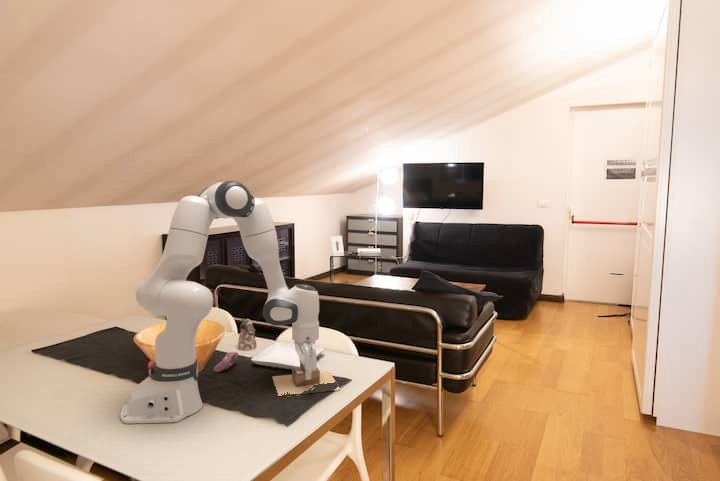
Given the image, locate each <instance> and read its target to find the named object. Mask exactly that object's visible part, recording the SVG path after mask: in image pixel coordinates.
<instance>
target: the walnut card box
mask: <svg viewBox="0 0 720 481" xmlns="http://www.w3.org/2000/svg"><path fill="white" fill-rule="evenodd" d="M291 371H292V374H291V375H292V382H293V383H294V385H295V386H296V387H301V386H308V385H315V384H320V372H321V371H320V369H319V368H318V366H317V367H316V370H312V374H311V379H310V380H306V378H305V371H306V370H305V368H304V367H301V368H300V367H297V368H293V369H292V370H291Z"/></svg>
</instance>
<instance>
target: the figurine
mask: <svg viewBox="0 0 720 481" xmlns="http://www.w3.org/2000/svg"><path fill="white" fill-rule="evenodd" d="M240 321H241V324H240V325H239V327H240V332H239V336H238V343H237V349H238V350H240V351H243V352H248V351H254V350H256V348H257V341H256V333H255V332H256V329H255V328H254V324H253V321H252V320H251V319H249V318H246V319H244V317H243V318H242V317H241V319H240Z"/></svg>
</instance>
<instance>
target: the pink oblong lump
mask: <svg viewBox="0 0 720 481" xmlns="http://www.w3.org/2000/svg"><path fill="white" fill-rule="evenodd" d="M238 356H239V352H236V351H233V350H232V351H229V352H228V353H226V354H225V356H224V357H223V358H222V360H221V361H220V362H218V363H217V364H216V365H215V366H214V367H213V371H214V372H215V373H220V372H222V371H223V370H225V371H227V370H229V368H230V367H232V366H233V365H234V362H236V361H237V359H238Z"/></svg>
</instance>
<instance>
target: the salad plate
mask: <svg viewBox="0 0 720 481" xmlns="http://www.w3.org/2000/svg"><path fill="white" fill-rule="evenodd" d="M315 347H316V358H318V356H320V355H321V354H322V353H323V352H324V351H325V348H324V347H319V346H315ZM250 361H251V362H252V363H254V364H256V365H260V366H263V367H264V366H265V367H269V366H270V367H271V368H276V367H277V369H283V368H284V369H283V370H290V369H291V371H292V369H293V368H297V367H300V360H299V356H298V354H297V352H296V350H295V343H292V342H285V341H275V342H274V343H272V344H270V345H269V346H267V347H266V348H265V349H263V350H262V351H260V352H259V353H257V354H256V355H254V356H253V357H252V358H251V359H250Z"/></svg>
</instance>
